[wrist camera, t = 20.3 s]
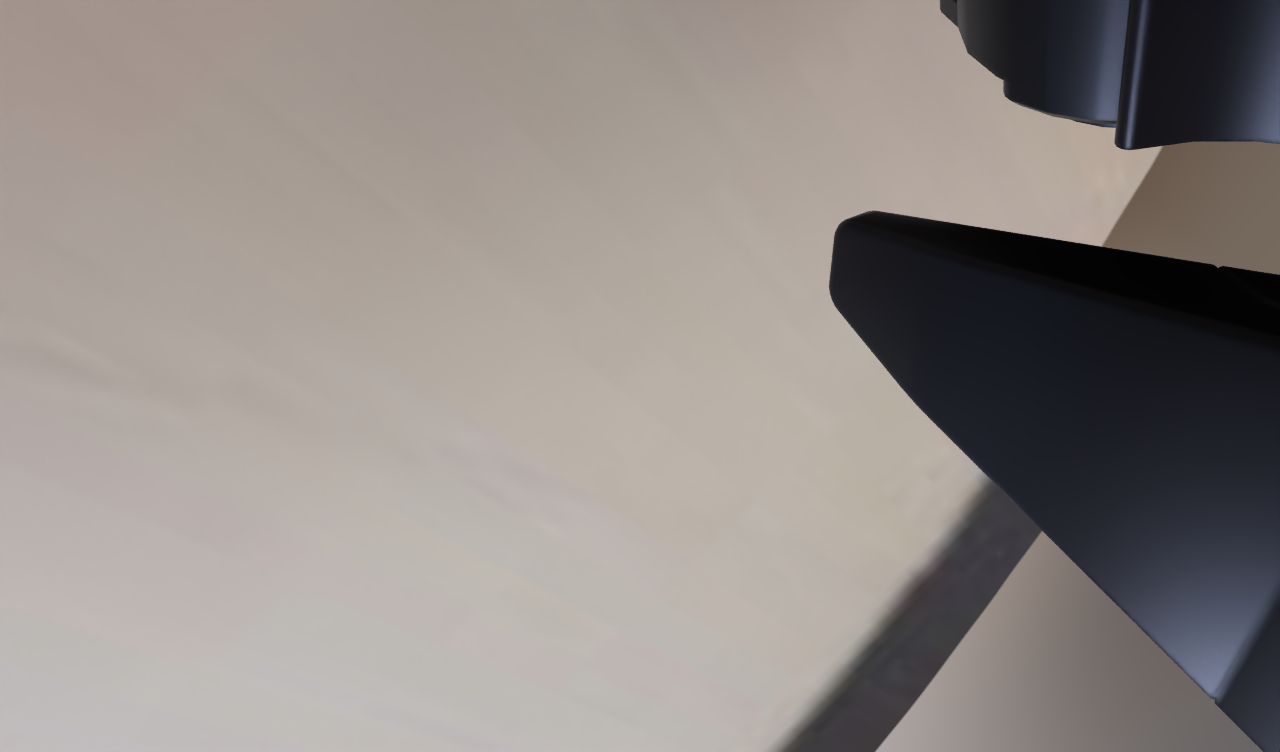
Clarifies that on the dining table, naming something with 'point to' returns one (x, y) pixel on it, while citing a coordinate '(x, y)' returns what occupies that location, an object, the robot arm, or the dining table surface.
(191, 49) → the dining table surface
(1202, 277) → the robot arm
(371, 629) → the dining table surface
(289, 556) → the dining table surface
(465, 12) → the dining table surface
